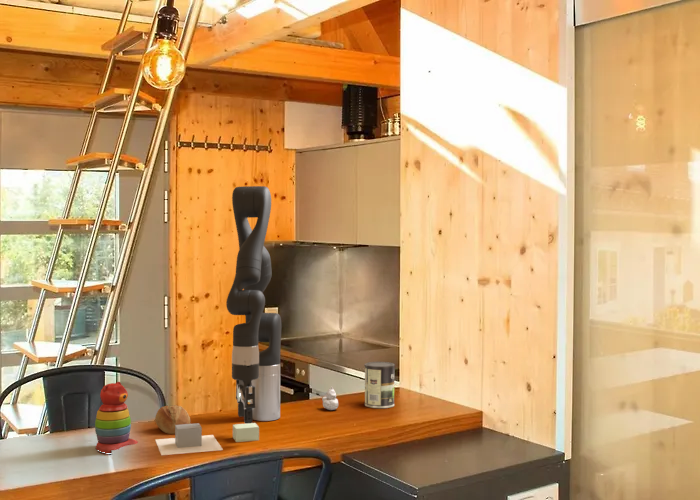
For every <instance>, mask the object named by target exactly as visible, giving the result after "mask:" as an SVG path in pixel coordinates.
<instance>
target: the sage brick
mask: <svg viewBox="0 0 700 500" xmlns="http://www.w3.org/2000/svg"><path fill="white" fill-rule="evenodd" d="M232 439H233V440H234V441H235V443H241V442H243V443H244V442H255V441H260V427H259V425H258V424H257V423H256V422H252V423H247V424H246V423H236V424H232Z"/></svg>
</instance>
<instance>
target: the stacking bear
mask: <svg viewBox="0 0 700 500" xmlns="http://www.w3.org/2000/svg"><path fill="white" fill-rule="evenodd" d="M99 395H100V400H101V403H102V404H101V405H100V407H98V408H99V409H98V410H97V412H96V415H95V416H96V417H95V421H94V429H95V434H96V437H97V438H96V439H97V442H96V445H95V449H97V450H99V451H101V452H105V453H112V451H116V450H120V448H123V447H126V446H133V445H137V444H139V441H138V440H136V439H134V438H130V432H131V427H132V419H131V416H130V411H129V407H128V405H127V404H126V401H127V399H128V398H129V397H128V396H129V394H128V391H127V389H126V388H125V387H124V386H123V385H122V383H121V382H120V381H116V382H113V383H107V384H105V385H103V387H102V389H101V390H100V393H99ZM97 450H96V451H97ZM112 454H113V453H112Z"/></svg>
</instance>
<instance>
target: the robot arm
mask: <svg viewBox="0 0 700 500" xmlns="http://www.w3.org/2000/svg"><path fill="white" fill-rule="evenodd" d="M231 194H232V196H231V199H232V200H231V201H232V211H233V215H234V216H233V217H234V222H235V228H236V232H237V238H238V239H237V240H238V252H237V255H236V265H235V275H234V280H233V282H232V285H231V288H230V290H229V292H228V295H227V298H226V309H227V311H228V313H229V314H231V315H234V316H245V317H244V318H245V322H243V323H238V324H235V325H234V326H233V327H232V328H233V329H232V351H231V378H232V379H233V380H235V383H236V384H235V386H236V387H235V400H236V402H237V415H238V417H239V418H243V422H244V424H247V423H254V422H253V420H254V421H261V422H268V421H276V420H278V419H280V418H281V350H282V349H281V347H282V345H281V343H282V329H283V328H282V317H281V315H280V314H279V313H277V312H264V309H265V305H266V297H265V295H264V292H265V290H266V289H267V287H268V285H269V284H270V282H271V278H272V276H273V275H272V274H273V273H272V260H271V256H270V253H269V251H268V250H267V248H266V247H265V246H264V245H265V242H266V241H265V240H266V236H267V231H268V226H269V223H270V216H271V211H272V195H271V192H270V189H269V187H267V186H264V185H260V186H258V185H255V186H254V185H253V186H252V185H251V186H250V185H249V186H248V185H247V186H246V185H245V186H236V187H234V188H233V190H232V193H231ZM248 218H249V219H250V218H251V219H252V218H253V219H254V218H257V219H256V222H255V225H254V227H253V229H252V227H251V225H250V222H249V219H248ZM259 343H269V344H268V347H267V348H265V349H263V350H262V351H260V348H259Z"/></svg>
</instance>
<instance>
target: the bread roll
mask: <svg viewBox="0 0 700 500" xmlns="http://www.w3.org/2000/svg"><path fill="white" fill-rule="evenodd" d="M154 417H155V418H154V422H155V424H156V426H157V427H158V429H159V430H160V431H162V432H163V433H165V434H168V435H175V425H182V424H191V417H190V414H189V413H188V411H187V410H186V409H185V408H184V407H183V406H182V405H176V404H175V405H165V406H161V407H160V408H159V409H158V410H157V412H156V414H155V416H154Z"/></svg>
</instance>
